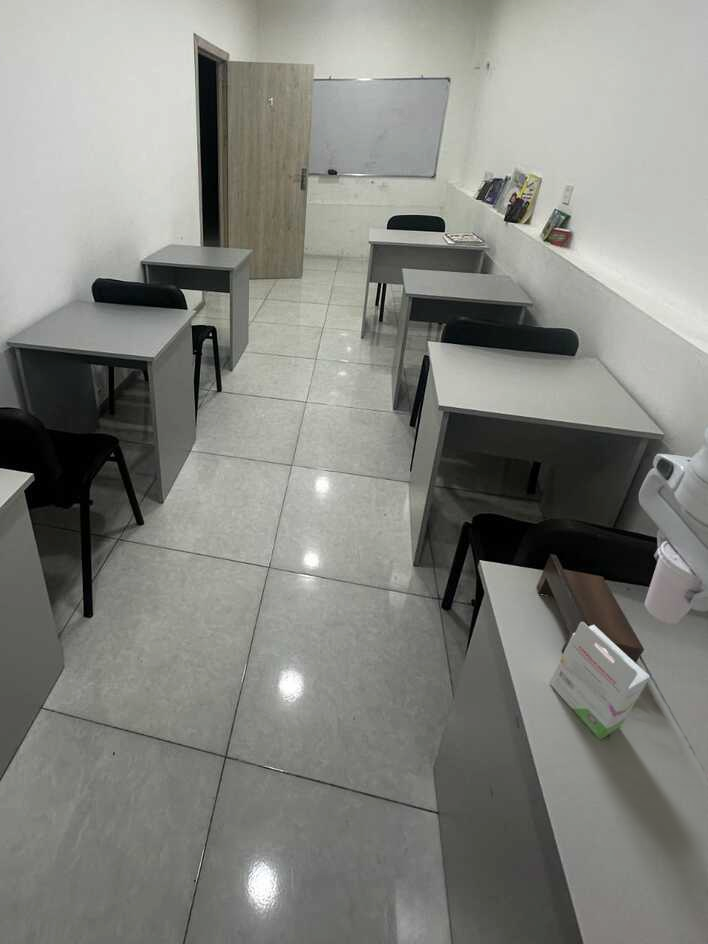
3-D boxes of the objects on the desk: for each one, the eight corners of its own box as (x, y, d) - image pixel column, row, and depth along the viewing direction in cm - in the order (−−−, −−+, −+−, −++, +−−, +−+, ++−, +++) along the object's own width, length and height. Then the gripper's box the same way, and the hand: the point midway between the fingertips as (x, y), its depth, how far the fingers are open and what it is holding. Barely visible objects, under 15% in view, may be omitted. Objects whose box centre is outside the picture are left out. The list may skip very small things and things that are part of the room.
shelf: (591, 599, 91) (608, 564, 87) (629, 673, 78) (652, 636, 75) (535, 588, 92) (550, 553, 89) (564, 659, 80) (583, 622, 76)
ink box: (621, 728, 71) (663, 664, 65) (599, 741, 69) (639, 676, 63) (568, 671, 78) (600, 608, 72) (546, 681, 76) (578, 618, 70)
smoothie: (628, 609, 64) (671, 531, 59) (637, 582, 69) (677, 507, 63) (689, 644, 60) (741, 564, 55) (694, 612, 65) (742, 535, 59)
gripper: (837, 577, 47) (768, 667, 53) (699, 454, 66) (658, 530, 71) (765, 565, 48) (704, 655, 53) (648, 447, 66) (613, 522, 72)
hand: (677, 582), depth 62 cm, fingers closed on smoothie, 5 cm apart
